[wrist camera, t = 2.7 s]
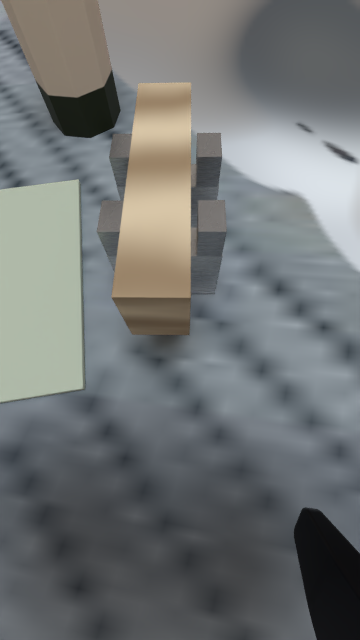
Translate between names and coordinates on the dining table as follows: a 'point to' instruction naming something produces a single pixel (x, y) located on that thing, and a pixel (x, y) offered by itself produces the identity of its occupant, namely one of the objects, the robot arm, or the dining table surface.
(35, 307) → the mat
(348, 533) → the dining table surface
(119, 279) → the beech rail
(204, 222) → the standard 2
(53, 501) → the dining table surface
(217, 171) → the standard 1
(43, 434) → the dining table surface
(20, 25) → the wine bottle
